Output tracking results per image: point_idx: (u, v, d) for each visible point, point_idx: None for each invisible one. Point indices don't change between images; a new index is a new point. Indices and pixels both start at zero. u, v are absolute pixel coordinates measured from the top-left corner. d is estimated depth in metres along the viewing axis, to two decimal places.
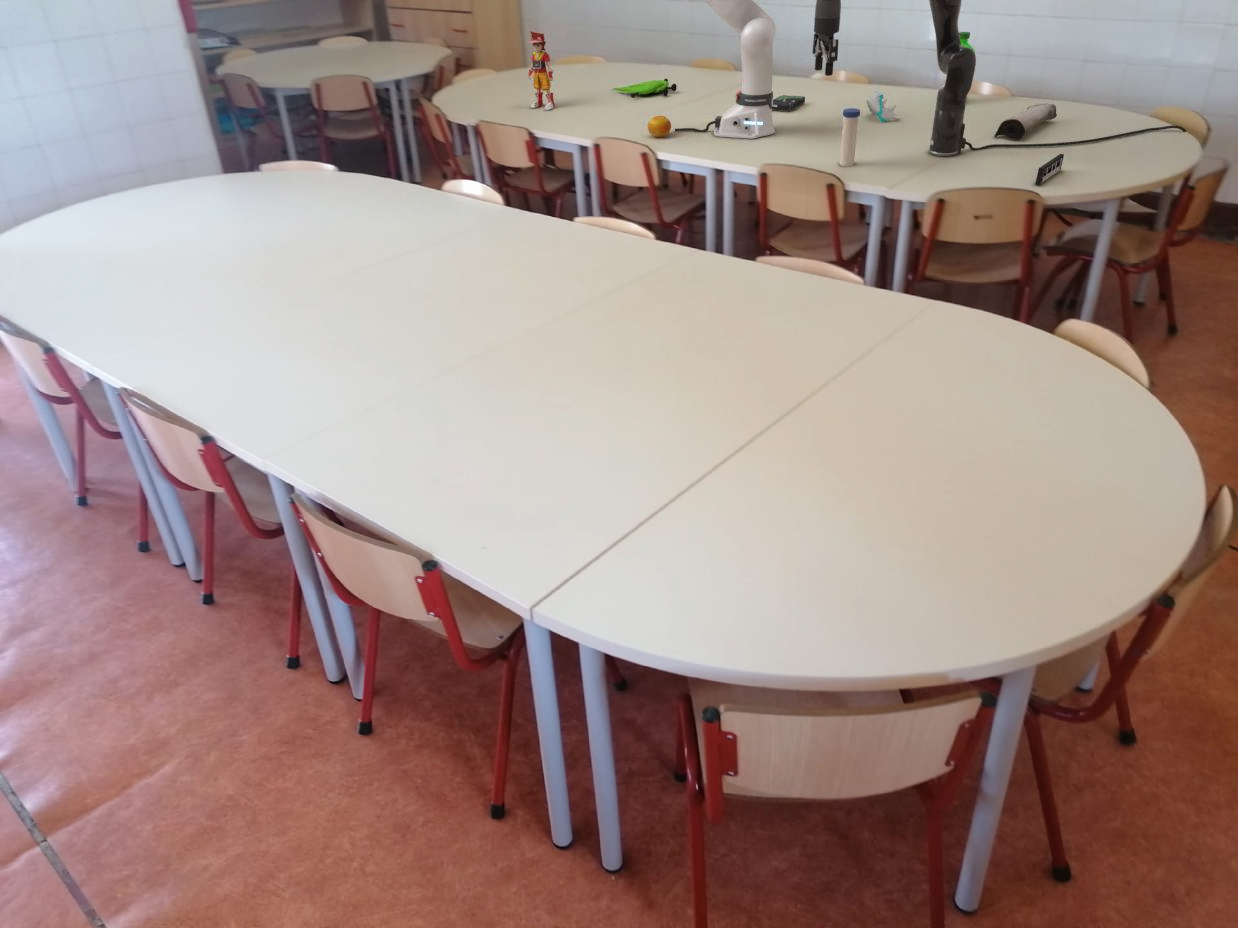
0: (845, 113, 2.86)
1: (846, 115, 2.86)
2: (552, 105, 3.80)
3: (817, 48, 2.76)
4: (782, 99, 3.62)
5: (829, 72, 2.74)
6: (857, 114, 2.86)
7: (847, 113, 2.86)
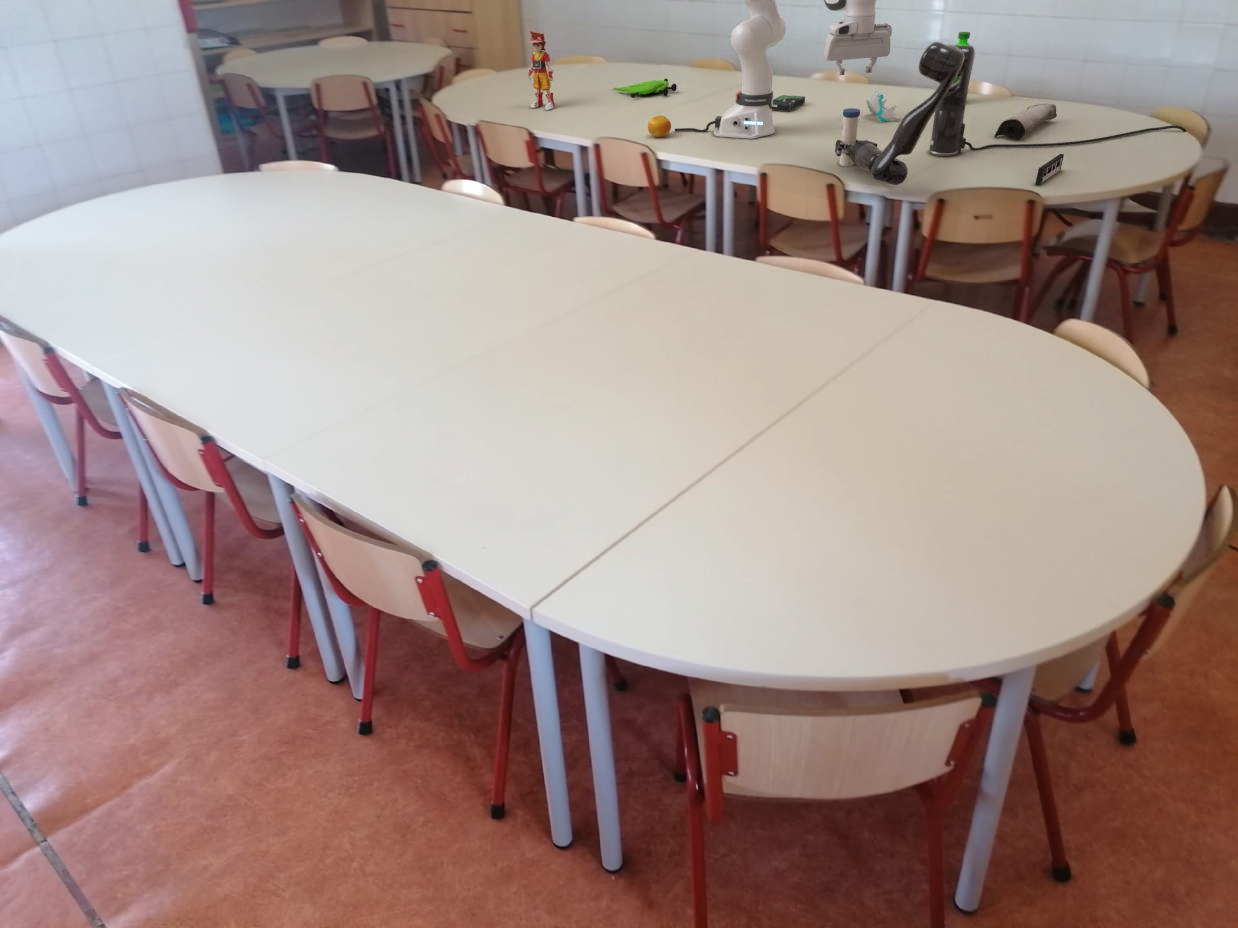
0: (845, 113, 2.86)
1: (846, 115, 2.86)
2: (552, 105, 3.80)
3: None
4: (782, 99, 3.62)
5: None
6: (857, 114, 2.86)
7: (847, 113, 2.86)
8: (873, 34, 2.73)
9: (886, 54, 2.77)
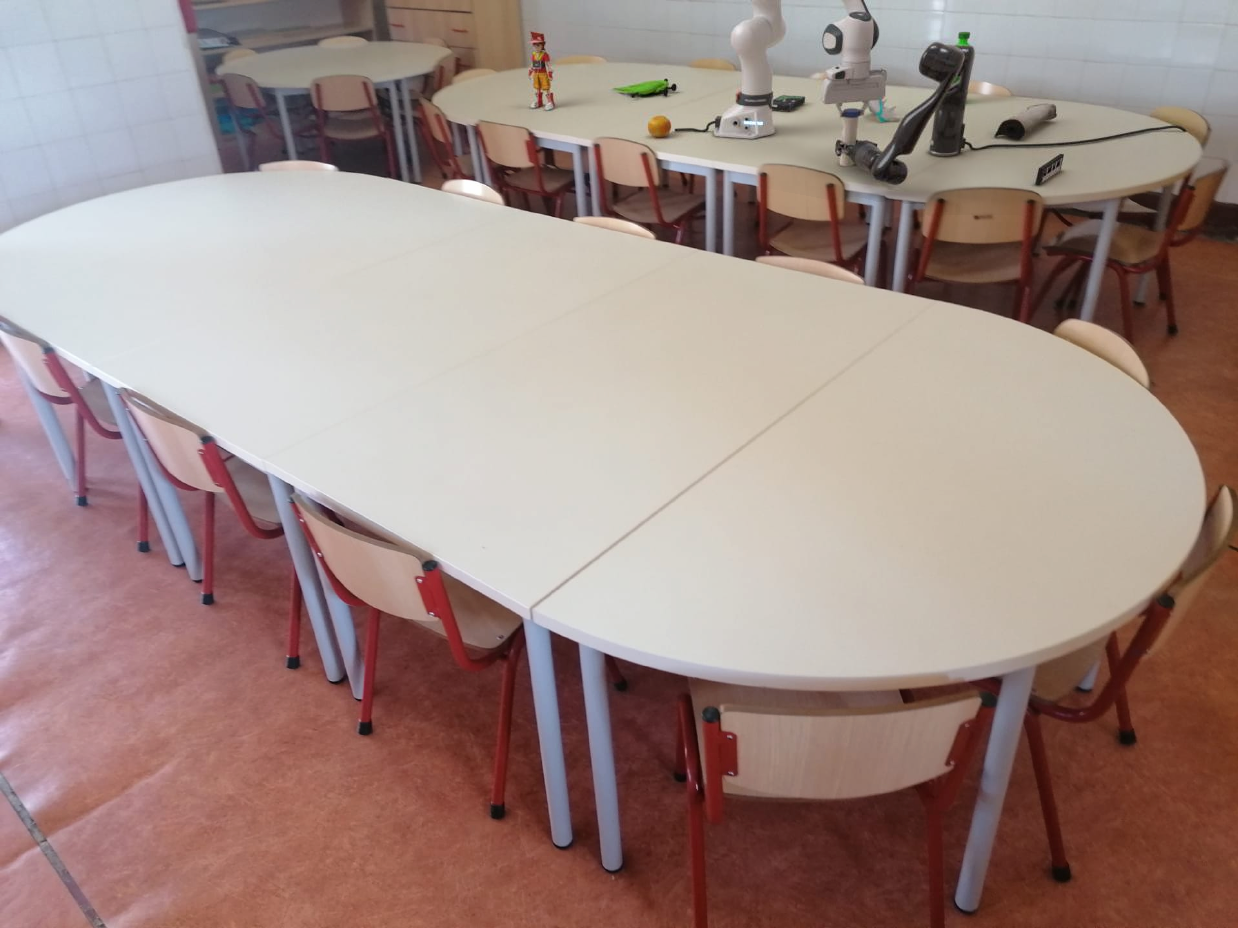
0: (845, 113, 2.86)
1: (846, 115, 2.86)
2: (552, 105, 3.80)
3: None
4: (782, 99, 3.62)
5: None
6: (857, 114, 2.86)
7: (847, 113, 2.86)
8: (868, 79, 2.80)
9: (881, 97, 2.84)
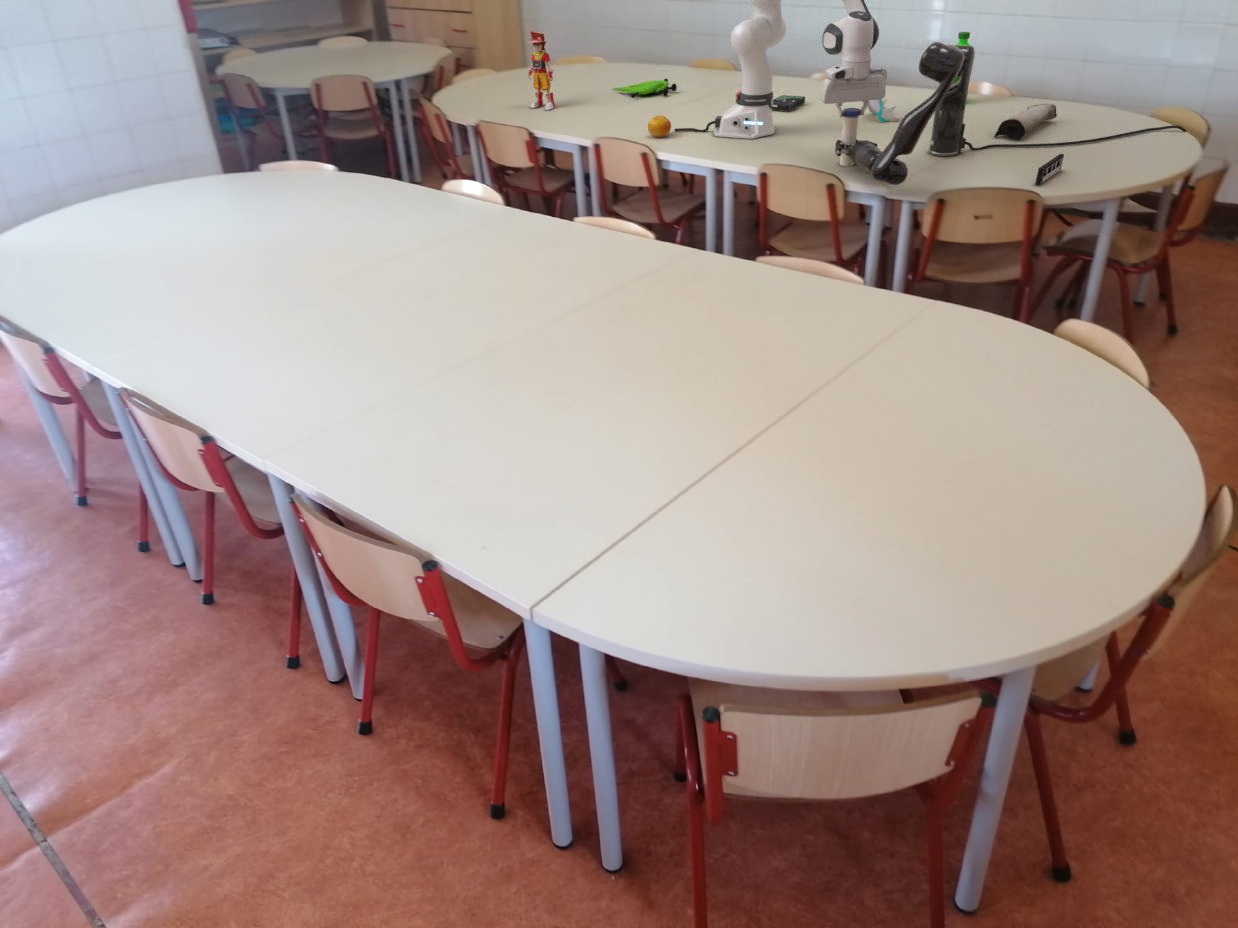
0: (857, 113, 2.85)
1: (858, 114, 2.86)
2: (552, 105, 3.80)
3: None
4: (782, 99, 3.62)
5: None
6: None
7: (858, 112, 2.86)
8: (869, 78, 2.80)
9: (881, 97, 2.84)
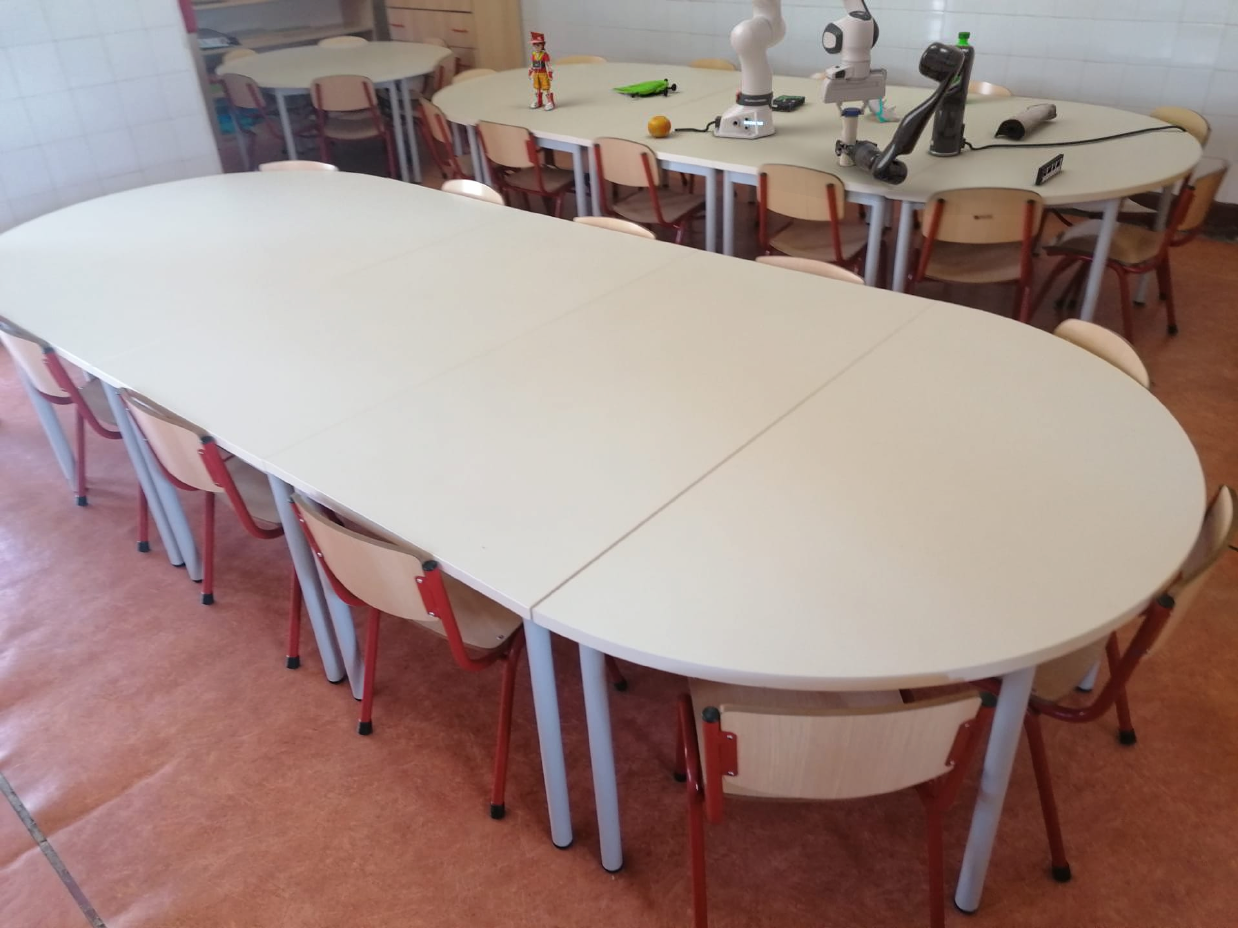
0: None
1: None
2: (552, 105, 3.80)
3: None
4: (782, 99, 3.62)
5: None
6: None
7: None
8: (869, 78, 2.80)
9: (881, 97, 2.84)
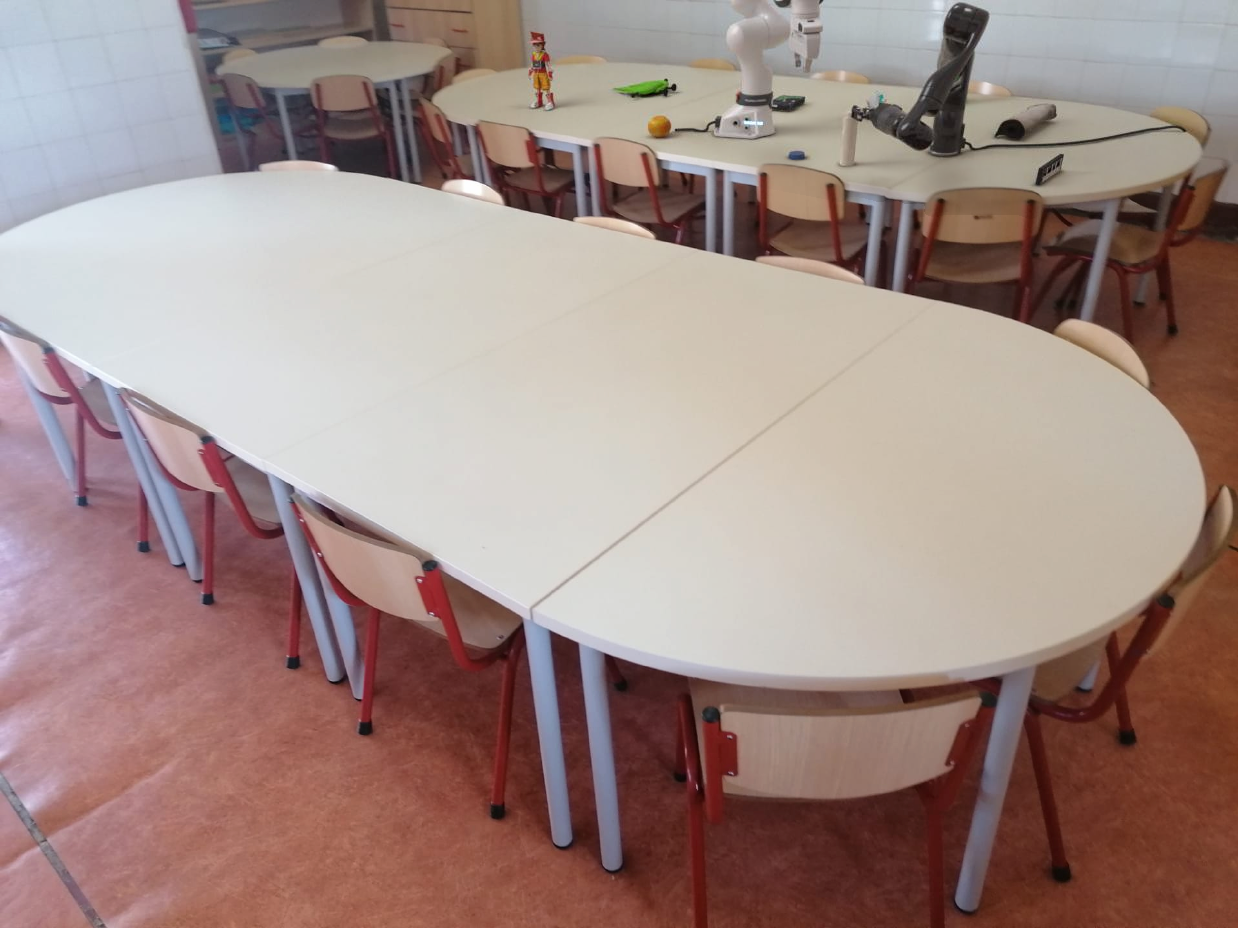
0: None
1: None
2: (552, 105, 3.80)
3: None
4: (782, 99, 3.62)
5: None
6: None
7: None
8: None
9: None
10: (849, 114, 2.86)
